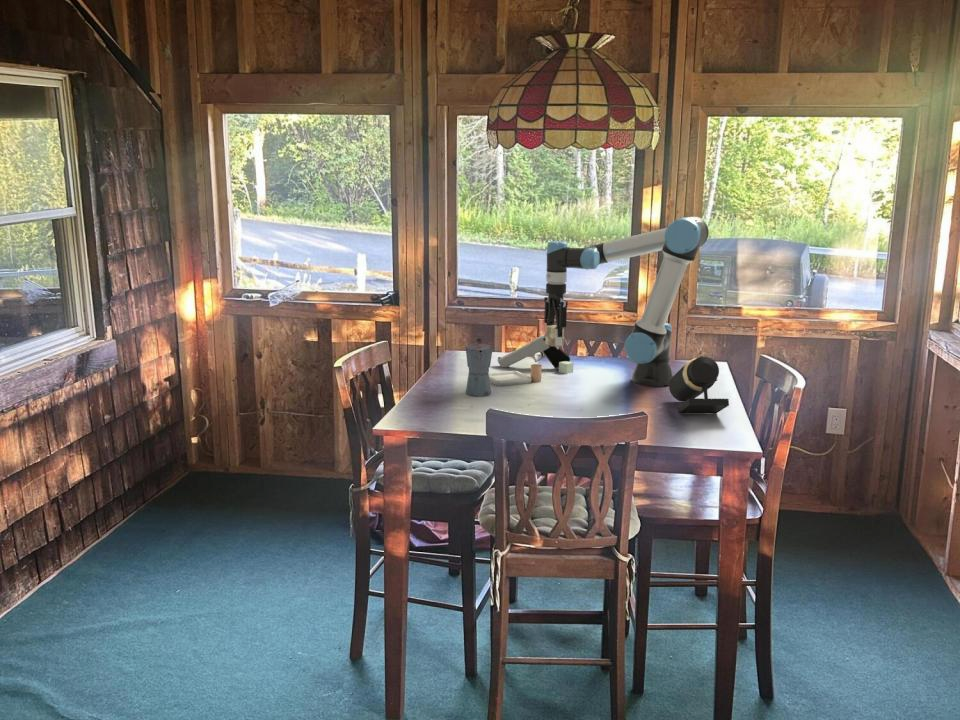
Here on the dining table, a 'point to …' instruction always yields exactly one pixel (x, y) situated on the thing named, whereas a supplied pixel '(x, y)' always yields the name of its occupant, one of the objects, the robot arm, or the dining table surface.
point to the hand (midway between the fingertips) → (554, 343)
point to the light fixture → (697, 386)
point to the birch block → (552, 336)
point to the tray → (508, 378)
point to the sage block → (566, 367)
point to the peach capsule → (536, 373)
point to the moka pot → (478, 368)
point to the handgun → (531, 349)
